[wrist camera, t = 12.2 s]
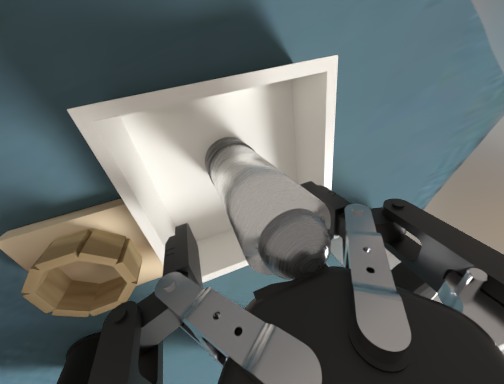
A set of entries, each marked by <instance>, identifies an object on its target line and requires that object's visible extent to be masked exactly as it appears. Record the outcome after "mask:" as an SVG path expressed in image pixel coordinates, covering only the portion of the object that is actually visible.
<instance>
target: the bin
mask: <svg viewBox="0 0 504 384" xmlns="http://www.w3.org/2000/svg"><path fill="white" fill-rule="evenodd" d="M337 67H338V55H335V56H329V57H324V58H319V59H314V60H308V61H303V62H298V63H293V64H288V65H283V66H278V67H273V68H268V69H263V70H258V71H253V72H248V73H243V74H238V75H233V76H228V77H223V78H218V79H213V80H208V81H203V82H198V83H193V84H188V85H183V86H178V87H173V88H168V89H163V90H158V91H153V92H148V93H143V94H138V95H133V96H128V97H123V98H118V99H113V100H108V101H103V102H98V103H94V104H89V105H85V106H80V107H75V108H71V109H67V111H68V113H69V114H70V116H71V118H72V119H73V121H74V122H75V124H76V126H77V127H78V129H79V130H80V132H81V134H82V135H83V137H84V138H85V140H86V142H87V143H88V145H89V146H90V148H91V150H92V151H93V153H94V155H95V156H96V158H97V159H98V161H99V163H100V164H101V166H102V167H103V169H104V171H105V172H106V174H107V175H108V177H109V179H110V180H111V182H112V183H113V185H114V187H115V188H116V190H117V192H118V193H119V195H120V196H121V198H122V200H123V201H124V203H125V204H126V206H127V208H128V209H129V211H130V212H131V214H132V216H133V217H134V219H135V220H136V222H137V224H138V225H139V227H140V229H141V230H142V232H143V233H144V235H145V237H146V238H147V240H148V241H149V243H150V245H151V246H152V248H153V249H154V251H155V253H156V254H157V256H158V257H159V259H160V261H161V262H162V264H163V265H164V257H165V256H164V254H165V244H166V242H167V240H168V239H169V237H171V236H174V235H175V227H176V226H179V225H182V224H185V223H188V224H189V226H190V229H191V231H192V233H193V235H194V237H195V240H196V242H197V245H198V251H199V259H200V268H201V276H202V283H203V282H206V281H208V280H211V279H214V278H216V277H219V276H221V275H224V274H226V273H229V272H232V271H234V270H237V269H239V268H242V267H244V266H247V265H249V264H248V263H247V261H246V258H245V256H244V254H243V251H242V249H241V247H240V244H239V242H238V240H237V237H236V235H235V233H234V230H233V228H232V226H231V223H230V221H229V219H228V216H227V214H226V211H225V209H224V207H223V204H222V202H221V200H220V197H219V195H218V193H217V190H216V188H215V186H214V184H213V183H212V181H211V179H210V177H209V174H208V172H207V170H206V167H205V156H206V153H207V151H208V149H209V147H210V146H211V145H212V144H213V143H214V142H215V141H217V140H219V139H221V138H225V137H234V138H237V139H240V140H241V141H243V142H244V143H246V144H247V145H248V146H250V147H251V148H252V149H253V150H254V151H255V152H256V153H257V154H259V155H260V156H261V157H263V158H264V159H265V160H267V161H268V162H269V163H271V164H272V165H274V166H275V167H276V168H278V169H279V170H280V171H282V172H283V173H284V174H286V175H287V176H288V177H290V178H291V179H292V180H294V181H295V182H297V183H298V184H299V185H301V184H303V183H306V182H309V181H312V182H314V183H315V184H316V185H321V186H324V187H327V188H329V189H330V190H331V187H332V167H333V147H334V127H335V107H336V87H337Z"/></svg>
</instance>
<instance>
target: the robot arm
mask: <svg viewBox="0 0 504 384" xmlns="http://www.w3.org/2000/svg"><path fill="white" fill-rule="evenodd" d="M301 186H302V187H303V188H305V189H306V190H307V191H309V192H310V193H311V194H313V195H314V196H315V197H317V198H318V199H320V200H321V201H322V202H323V203H324V204H325V205H326V206H327V208H328V210H329V212H330V217H331V226H330V231H329V235H330V236H331V237H332V238H333V239H336V238H338V237H341V238H342V253H343V267H337V266H331V267H328V266H327V265H326V264H325V265H324V266H323V267H322V268H321V269H320V270H319V271H317V272H316V273H314V274H312V275H309V276H305V277H299V278H295V279H294V280H292V281H287V282H281V283H275V284H271V285H268V286H266V287H264V288H261V289H259V290H257V291H254V292H253V293H254V296H255V299H253V300H252V301H251V302H250V303H249V304H248V305H247V307H246V308H245V309H243V308H242V307H240V306H238V305H237V304H235V303H234V302H232V301H231V300H229V299H227V298H226V297H224V296H223V295H221V294H220V293H218V292H216V291H215V290H213V289H212V288H209V287H207V288H206V289H204V288H203V285H202V276H201V268H200V259H199V251H198V245H197V242H196V240H195V237H194V235H193V233H192V231H191V229H190V226H189V224H188V223H185V224H182V225H179V226H176V227H175V235H174V236H171V237H169V239H168V240H167V242H166V244H165V254H164V256H165V257H164V265H163V276H162V278H161V279H160V280H159V281H158V283H157V284H156V287H155V291H154V292H153V293H152V294H151V295H149V296H148V297H147V298H145V299H144V300H142V301H141V302H139V303H138V304H136V303H135V302H133V301H127V302H124V303H122V304H120V305H118V306H117V307H116V308H114V309H113V310H112V311H111V312H110V313H109V315H108V316H107V318H106V319H105V321H104V324H103V327H102V331H101V335H100V339H99V343H98V347H97V350H96V354H95V358H94V362H93V366H92V370H91V373H90V377H89V381H88V384H163V339H165V338H166V337H167V336H168V335H170V334H171V333H172V332H173V331H175V330H176V329H177V328H178V327H181V328H182V329H183V330H184V331H185V332H186V333H187V334H188V335H190V336H191V337H192V338H193V339H194V340H195V341H196V342H197V343H198V344H199V345H201V346H202V347H203V348H204V349H205V351H206V352H207V353H208V354H209V355H210V356H211V357H212V358H213V359H214V360H215V361H216V362H217V363H218V364H219V365H221V366H222V367H223V369H222V372H221V375H220V378H219V381H218V384H504V354H503V353H502V350H504V255H503V254H501V253H500V252H498V251H496V250H494V249H492V248H490V247H488V246H487V245H485V244H483V243H481V242H480V241H478V240H476V239H474V238H472V237H471V236H469V235H467V234H465V233H463V232H461V231H459V230H458V229H456V228H454V227H452V226H451V225H449V224H447V223H445V222H443V221H442V220H440V219H438V218H436V217H434V216H433V215H431V214H429V213H427V212H425V211H424V210H422V209H420V208H418V207H416V206H414V205H413V204H411V203H409V202H407V201H405V200H401V199H388V200H386V201H385V202H384V204H383V207H381V208H373V209H370V208H369V207H367V206H365V205H363V204H351V203H349V202H348V201H346V200H345V199H343V198H342V197H340V196H339V195H336V193H334V192H332V191H331V190H330V189H329V188H327V187H324V186H321V185H316V184H315V183H314V182H312V181H309V182H306V183H303V184H301ZM406 231H408V232H410V233H411V234H412V235H414V236H415V237H417V238H418V239H419V240H420V242H421V244H422V246H421V245H419V244H418V243H416V242H415V241H413V240H412V239H411V238H409V237H408V236H407V235H405V234H406ZM385 248H386V249H387V250H388V251H389V252H390V253H392V254H393V255H394V256H395V257H396V258H397V259H399V260H400V261H401V262H402V263H403V264H404V265H406V266H407V267H408V268H409V269H410V270H411V271H413V272H414V273H415V274H416V275H417V276H418V277H420V278H421V279H422V280H423V281H424V282H425V283H427V284H428V285H429V286H430V287H431V288H432V289H433V290H435V291H436V292H437V293H438V296H439V298H440V300H441V301H442V303H443V304H442V303H440V302H437V301H434V300H431V299H429V298H426V297H423V296H421V295H418V294H415V293H413V292H410V291H407V290H405V289H402V288H399V287H397V286H395V284H394V280H393V277H392V273H391V269H390V265H389V262H388V258H387V254H386V251H385Z"/></svg>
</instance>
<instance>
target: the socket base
mask: <svg viewBox="0 0 504 384" xmlns="http://www.w3.org/2000/svg"><path fill="white" fill-rule="evenodd" d="M0 249H1V250H2V251H3V252H5V253H6V254H7V255H8V256H9V257H11V258H12V259H13V260H14V261H15V262H17V263H18V264H19V265H20V266H22V267H23V268H24V269H25V270H26V271H28V272H29V273H28V275H27V278H26V281H25V283H24V286H23V288H22V291H21V293H25V294H24V295H23V296H22V297H24V298H25V299H27V300H28V301H29V302H31V303H32V304H33V305H35V306H36V307H38V308H39V309H40V310H42V311H43V312H44V313H46V314H47V313H49V312H52V311H53V313H52V315H55V316H73V317H88V316H89V314H91V315H92V316H96V315H98V314H101V313H104V312H106V311H109V310H111V309H114V308H116V307H117V306H118V305H120V304H122V303H123V302H127V300H128V299H129V297H130V295H131V294H132V292H133V290H134V288H135V287H136V286H138V285H140V284H143V283H146V282H148V281H151V280H154V279H157V278H159V277H162V276H163V264H162V262H161V261H160V259H159V257H158V256H157V254H156V253H155V251H154V249H153V248H152V246H151V245H150V243H149V241H148V240H147V238H146V237H145V235H144V233H143V232H142V230H141V229H140V227H139V225H138V224H137V222H136V220H135V219H134V217H133V216H132V214H131V212H130V211H129V209H128V208H127V206H126V204H125V203H124V201H123V200H122V198H121V199H117V200H114V201H110V202H107V203H103V204H100V205H96V206H93V207H89V208H86V209H82V210H79V211H75V212H72V213H68V214H65V215H61V216H58V217H55V218H51V219H48V220H44V221H41V222H37V223H34V224H30V225H27V226H23V227H20V228H16V229H13V230H9V231H7V232H5V233H4V234H3V235H2V236H1V237H0Z"/></svg>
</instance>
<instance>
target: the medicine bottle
mask: <svg viewBox="0 0 504 384" xmlns="http://www.w3.org/2000/svg"><path fill="white" fill-rule="evenodd" d="M385 251H386V254H387V258H388V262H389V265H390V269H391V273H392V277H393V280H394V284H395V286H397V287H399V288H402V289H405V290H407V291H410V292H413V293H415V294H418V295H421V296H423V297H426V298H429V299H431V300H432V299H433V298H434V297H435V296H436V295H437V294H438V293H437V292H436V291H435V290H433V289H432V288H431V287H430V286H429V285H428V284H427V283H425V282H424V281H423V280H422V279H421V278H420V277H418V276H417V275H416V274H415V273H414V272H413V271H411V270H410V269H409V268H408V267H407V266H406V265H404V264H403V263H402V262H401V261H400V260H399V259H397V258H396V257H395V256H394V255H393V254H392V253H390V252H389V251H388V250H387V249H386V248H385ZM330 252H331V253H332V254H333V256H334V257H335V258H336V259H337V260H338V261H339V262H340V263H341V265H342V266H343V253H342V238H341V237H338V238H336V239H333V238H332V239H331V250H330Z"/></svg>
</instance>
